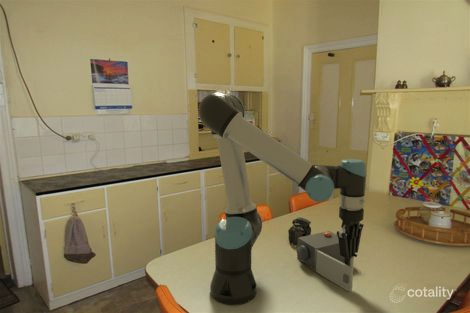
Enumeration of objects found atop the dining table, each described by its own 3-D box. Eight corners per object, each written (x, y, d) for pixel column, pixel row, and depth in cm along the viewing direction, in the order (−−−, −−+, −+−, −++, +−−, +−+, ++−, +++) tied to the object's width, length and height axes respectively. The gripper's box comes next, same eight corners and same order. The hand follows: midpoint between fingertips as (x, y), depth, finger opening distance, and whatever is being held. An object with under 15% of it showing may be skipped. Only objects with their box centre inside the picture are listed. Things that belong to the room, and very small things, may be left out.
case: (310, 271, 118) (311, 247, 116) (293, 258, 128) (293, 236, 126) (347, 261, 126) (349, 238, 124) (328, 250, 135) (329, 228, 134)
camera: (310, 246, 139) (311, 224, 137) (287, 244, 141) (288, 222, 140) (310, 234, 152) (311, 214, 150) (289, 233, 154) (289, 213, 152)
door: (312, 271, 117) (313, 250, 116) (316, 269, 118) (316, 249, 117) (348, 292, 104) (349, 269, 103) (352, 290, 105) (353, 267, 104)
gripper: (351, 214, 98) (348, 286, 101) (372, 205, 106) (368, 272, 109) (330, 208, 103) (327, 276, 107) (351, 200, 111) (348, 264, 115)
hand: (348, 274), depth 108 cm, fingers closed
